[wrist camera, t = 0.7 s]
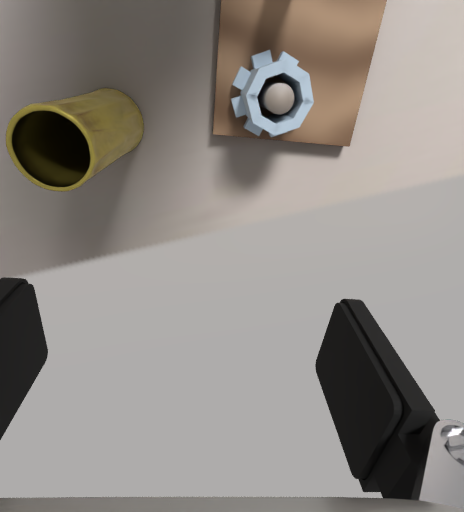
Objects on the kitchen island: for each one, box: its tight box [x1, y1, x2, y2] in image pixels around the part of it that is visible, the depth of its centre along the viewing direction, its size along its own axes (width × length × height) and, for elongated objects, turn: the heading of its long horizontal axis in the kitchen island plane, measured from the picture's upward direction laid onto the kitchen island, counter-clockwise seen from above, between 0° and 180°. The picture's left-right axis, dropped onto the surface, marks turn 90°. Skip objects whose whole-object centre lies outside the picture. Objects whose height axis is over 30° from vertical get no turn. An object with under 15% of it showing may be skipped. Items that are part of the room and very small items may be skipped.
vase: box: [6, 88, 144, 191], centre depth 26 cm, size 6×6×14 cm
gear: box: [231, 50, 314, 137], centre depth 28 cm, size 7×7×6 cm
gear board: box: [213, 0, 387, 146], centre depth 27 cm, size 16×14×8 cm
